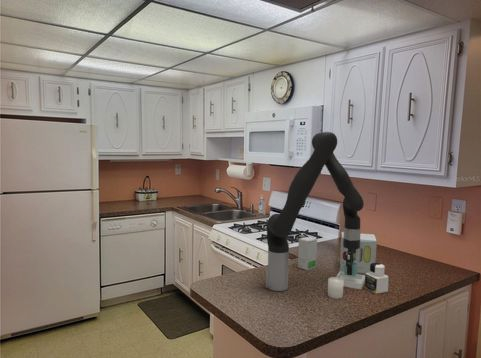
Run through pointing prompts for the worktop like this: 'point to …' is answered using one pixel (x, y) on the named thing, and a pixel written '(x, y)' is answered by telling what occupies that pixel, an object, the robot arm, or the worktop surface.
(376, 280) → the medicine bottle
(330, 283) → the white rounded dome
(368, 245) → the supplement box
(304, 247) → the skincare box
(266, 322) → the worktop surface
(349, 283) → the tray
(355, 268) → the block
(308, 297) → the worktop surface
